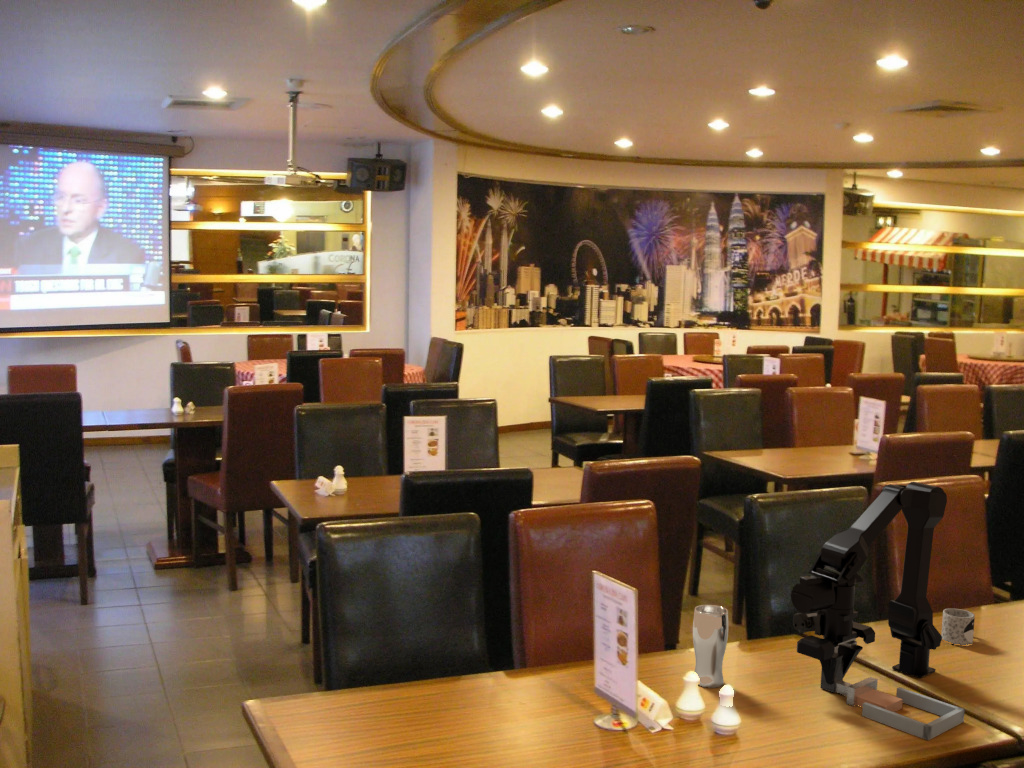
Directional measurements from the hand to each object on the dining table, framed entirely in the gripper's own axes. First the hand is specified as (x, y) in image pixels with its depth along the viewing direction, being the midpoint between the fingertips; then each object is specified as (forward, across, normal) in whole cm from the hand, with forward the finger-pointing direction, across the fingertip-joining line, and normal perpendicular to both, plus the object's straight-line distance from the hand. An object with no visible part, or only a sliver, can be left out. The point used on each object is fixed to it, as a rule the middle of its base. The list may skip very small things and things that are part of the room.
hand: (834, 682), depth 205 cm
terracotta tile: (+2, 0, +10) cm, 10 cm away
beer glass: (+2, +17, -18) cm, 25 cm away
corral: (+2, 0, +17) cm, 17 cm away
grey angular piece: (+2, 0, +2) cm, 3 cm away
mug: (+2, -50, 0) cm, 50 cm away
